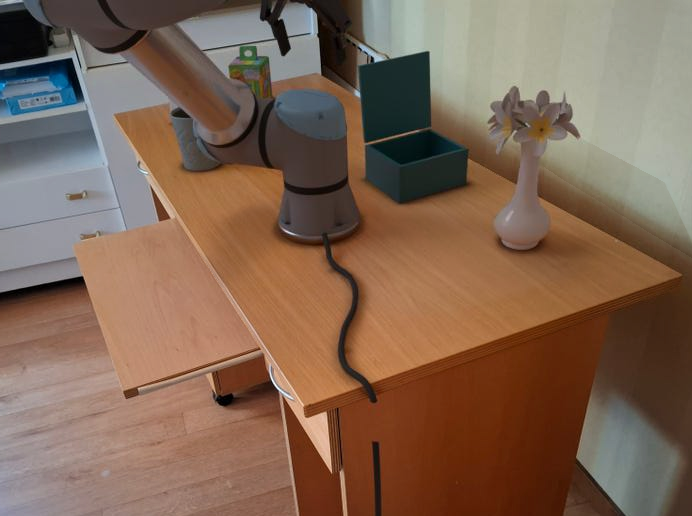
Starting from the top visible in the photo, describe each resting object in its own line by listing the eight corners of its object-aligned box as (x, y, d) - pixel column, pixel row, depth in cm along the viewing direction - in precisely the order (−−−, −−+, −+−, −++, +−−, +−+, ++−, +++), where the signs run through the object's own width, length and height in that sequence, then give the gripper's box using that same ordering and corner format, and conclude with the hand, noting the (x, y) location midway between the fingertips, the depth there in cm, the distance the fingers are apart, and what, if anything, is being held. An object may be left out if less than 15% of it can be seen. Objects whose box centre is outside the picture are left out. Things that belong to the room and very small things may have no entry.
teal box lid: (429, 51, 131) (427, 50, 132) (359, 66, 126) (357, 65, 127) (431, 126, 139) (429, 125, 139) (365, 143, 134) (363, 142, 135)
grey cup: (195, 176, 147) (185, 121, 139) (171, 164, 153) (160, 111, 146) (233, 162, 152) (224, 108, 144) (208, 151, 158) (199, 99, 150)
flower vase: (519, 211, 124) (537, 69, 108) (580, 256, 110) (611, 100, 94) (456, 225, 121) (465, 82, 105) (510, 274, 107) (530, 117, 91)
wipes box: (466, 184, 134) (468, 148, 130) (399, 203, 129) (399, 167, 125) (429, 162, 144) (430, 128, 139) (365, 179, 139) (364, 145, 135)
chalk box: (233, 110, 180) (224, 52, 170) (242, 99, 187) (234, 42, 177) (266, 110, 178) (259, 51, 169) (274, 99, 185) (267, 41, 176)
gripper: (357, -58, 115) (375, 54, 132) (243, -67, 125) (273, 38, 143) (336, -33, 112) (357, 77, 129) (221, -45, 123) (254, 59, 140)
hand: (313, 57), depth 136 cm, fingers open, 13 cm apart
